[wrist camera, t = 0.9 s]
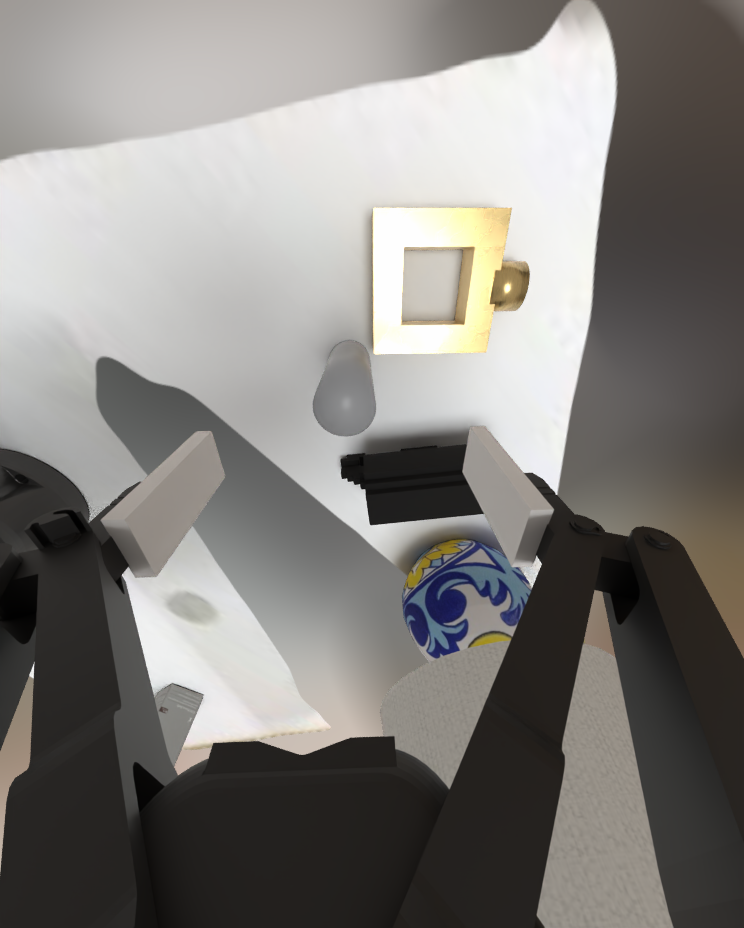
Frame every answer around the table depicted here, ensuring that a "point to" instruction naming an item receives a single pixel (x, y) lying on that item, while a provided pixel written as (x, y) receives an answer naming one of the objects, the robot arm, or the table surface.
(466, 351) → the gold square frame
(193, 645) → the table surface
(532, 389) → the table surface
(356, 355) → the grey rounded cylinder
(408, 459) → the security camera
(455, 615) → the table lamp
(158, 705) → the skincare box
